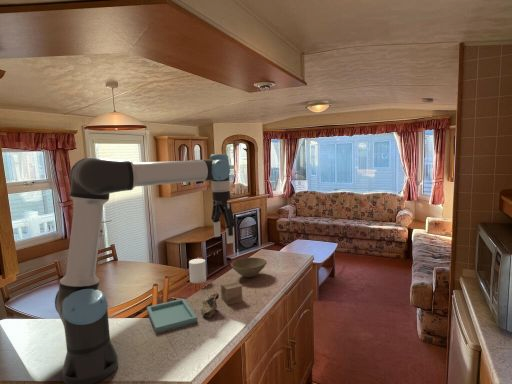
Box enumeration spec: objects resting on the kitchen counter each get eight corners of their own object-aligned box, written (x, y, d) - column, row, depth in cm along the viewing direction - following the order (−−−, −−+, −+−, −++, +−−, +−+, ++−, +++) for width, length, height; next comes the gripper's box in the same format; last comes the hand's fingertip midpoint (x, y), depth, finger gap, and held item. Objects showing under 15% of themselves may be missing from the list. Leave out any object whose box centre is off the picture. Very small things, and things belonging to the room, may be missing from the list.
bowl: (233, 270, 183) (233, 256, 182) (267, 270, 183) (266, 255, 182) (229, 283, 165) (229, 268, 164) (267, 283, 164) (266, 267, 163)
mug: (192, 264, 164) (184, 258, 174) (193, 284, 165) (185, 277, 175) (207, 261, 168) (198, 255, 178) (208, 281, 169) (199, 274, 179)
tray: (197, 322, 128) (197, 317, 127) (156, 333, 121) (155, 327, 120) (183, 303, 145) (183, 298, 144) (147, 311, 138) (146, 306, 137)
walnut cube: (242, 301, 145) (241, 285, 144) (227, 305, 142) (226, 289, 141) (235, 295, 151) (235, 280, 150) (221, 298, 148) (220, 283, 147)
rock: (227, 312, 132) (223, 290, 139) (211, 310, 128) (208, 287, 134) (214, 323, 136) (211, 300, 142) (199, 321, 131) (196, 298, 138)
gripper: (242, 192, 132) (244, 244, 134) (217, 187, 154) (220, 232, 156) (224, 194, 128) (227, 247, 131) (202, 189, 150) (205, 235, 152)
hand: (223, 239), depth 143 cm, fingers open, 13 cm apart
